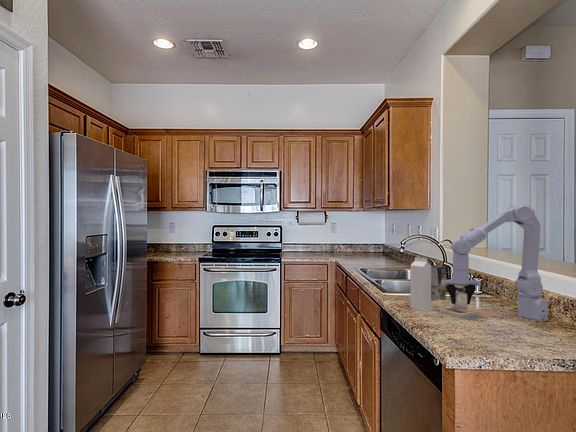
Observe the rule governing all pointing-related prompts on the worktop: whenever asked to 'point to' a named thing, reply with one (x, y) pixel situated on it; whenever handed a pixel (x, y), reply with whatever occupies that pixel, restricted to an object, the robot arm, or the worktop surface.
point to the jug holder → (466, 313)
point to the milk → (420, 284)
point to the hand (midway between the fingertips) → (460, 303)
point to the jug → (460, 300)
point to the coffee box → (438, 282)
